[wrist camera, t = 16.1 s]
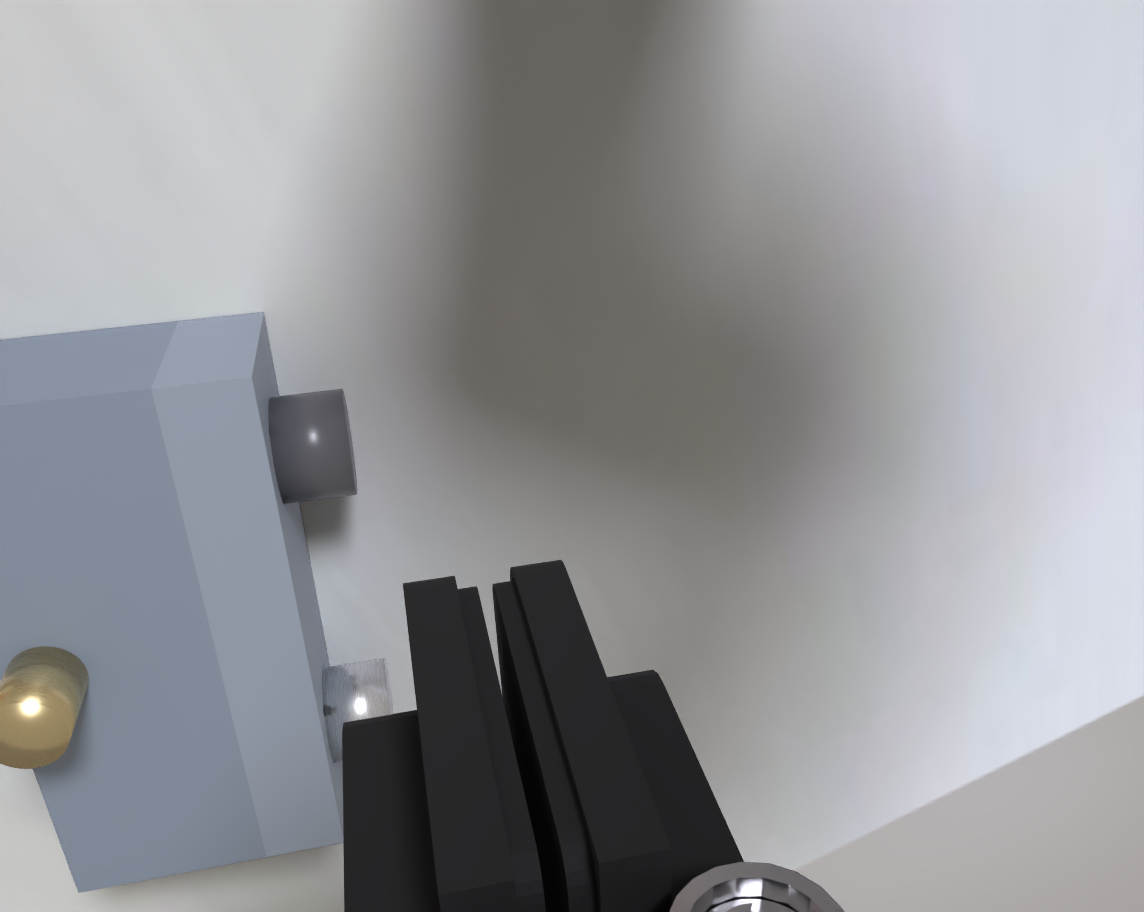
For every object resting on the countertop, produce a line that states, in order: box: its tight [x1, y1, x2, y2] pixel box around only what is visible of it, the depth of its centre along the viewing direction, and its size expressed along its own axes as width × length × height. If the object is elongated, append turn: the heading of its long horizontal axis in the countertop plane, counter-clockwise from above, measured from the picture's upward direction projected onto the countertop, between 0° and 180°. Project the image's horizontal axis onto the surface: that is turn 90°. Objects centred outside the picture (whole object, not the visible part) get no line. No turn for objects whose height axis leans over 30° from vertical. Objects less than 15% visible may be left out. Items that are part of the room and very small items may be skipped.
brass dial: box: [0, 646, 89, 769], centre depth 34 cm, size 3×3×3 cm
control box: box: [0, 312, 344, 893], centre depth 39 cm, size 10×20×6 cm, turn 3°
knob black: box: [268, 389, 357, 504], centre depth 36 cm, size 10×4×4 cm, turn 93°
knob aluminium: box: [322, 658, 394, 763], centre depth 42 cm, size 10×4×4 cm, turn 93°
